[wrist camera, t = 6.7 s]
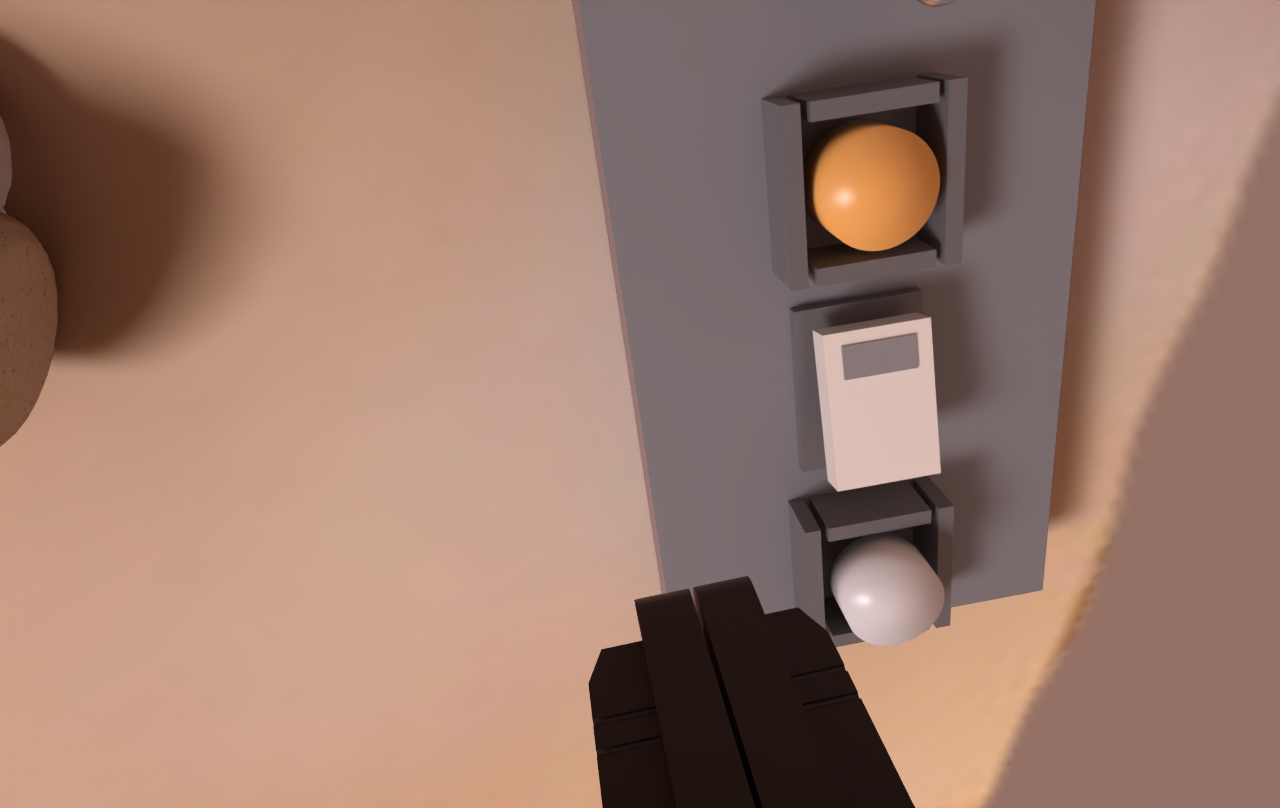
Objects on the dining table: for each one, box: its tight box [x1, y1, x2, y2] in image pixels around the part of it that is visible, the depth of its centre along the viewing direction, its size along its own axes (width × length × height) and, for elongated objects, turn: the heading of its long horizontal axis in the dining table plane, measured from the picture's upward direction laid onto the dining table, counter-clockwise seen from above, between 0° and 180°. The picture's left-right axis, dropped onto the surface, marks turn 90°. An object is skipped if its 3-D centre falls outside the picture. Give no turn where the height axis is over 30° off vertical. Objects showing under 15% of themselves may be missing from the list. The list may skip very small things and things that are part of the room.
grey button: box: [829, 532, 945, 646], centre depth 28 cm, size 3×3×2 cm
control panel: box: [572, 0, 1096, 647], centre depth 26 cm, size 27×14×5 cm, turn 8°
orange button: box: [803, 119, 940, 251], centre depth 23 cm, size 3×3×2 cm
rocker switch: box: [813, 312, 941, 492], centre depth 25 cm, size 5×3×1 cm
